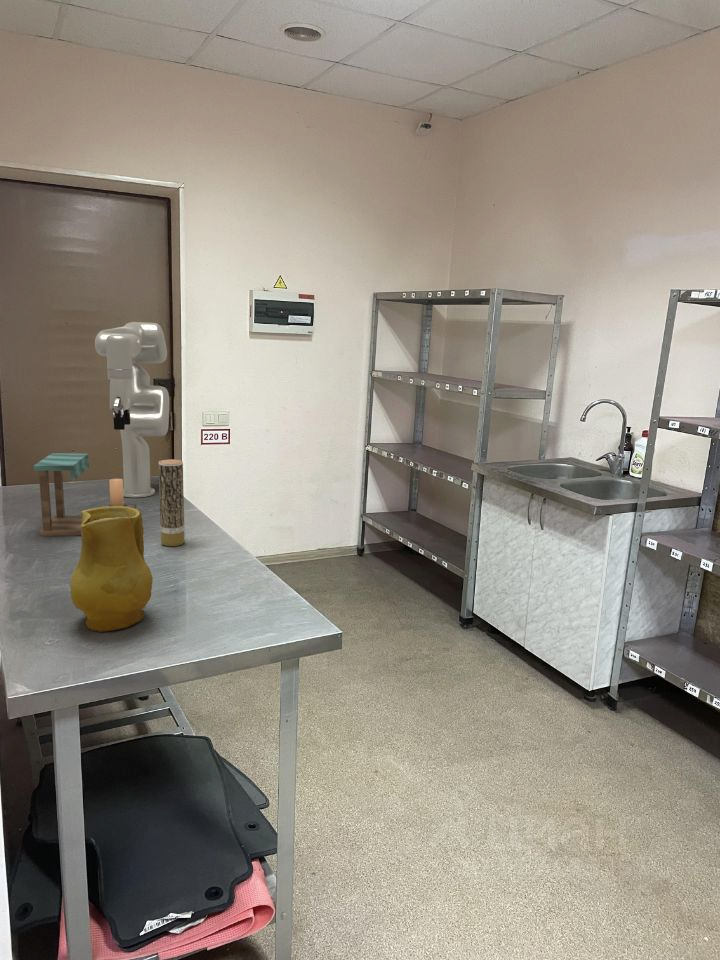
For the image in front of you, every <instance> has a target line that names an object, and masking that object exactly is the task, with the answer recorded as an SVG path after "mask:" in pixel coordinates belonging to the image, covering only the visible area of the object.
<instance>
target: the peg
mask: <svg viewBox="0 0 720 960" xmlns="http://www.w3.org/2000/svg"><path fill="white" fill-rule="evenodd" d="M108 483H109V504H110V507H112V506H124V504H125V501H124V496H123V489H124V478H123V479H122V478H111V479H109V482H108Z"/></svg>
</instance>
